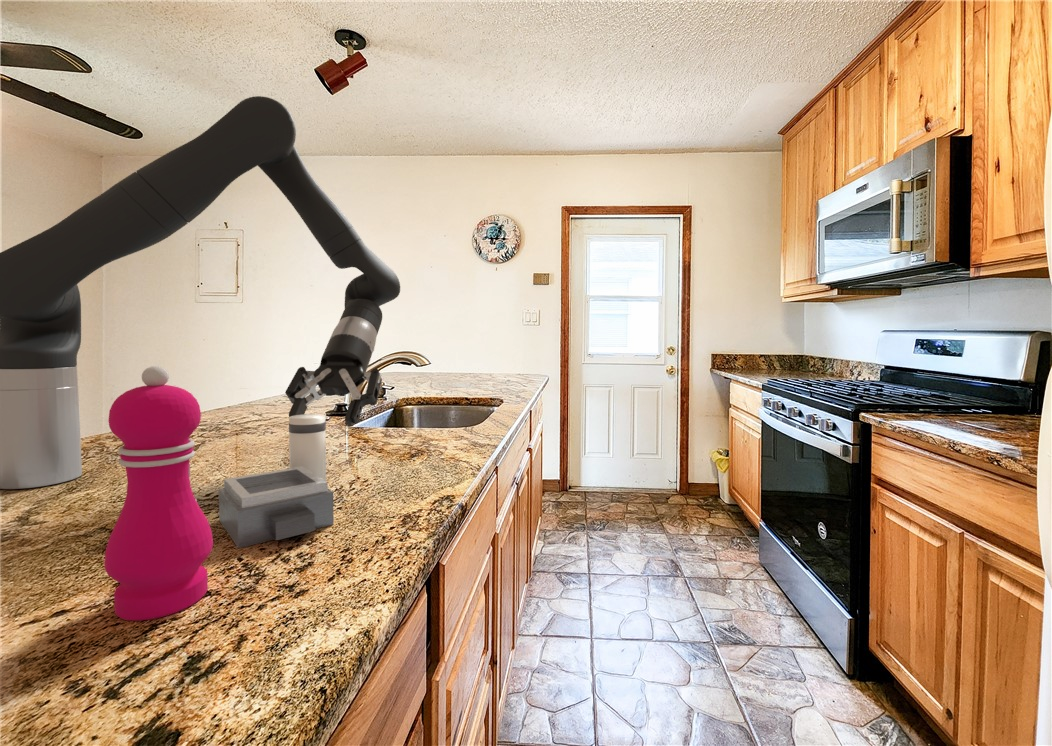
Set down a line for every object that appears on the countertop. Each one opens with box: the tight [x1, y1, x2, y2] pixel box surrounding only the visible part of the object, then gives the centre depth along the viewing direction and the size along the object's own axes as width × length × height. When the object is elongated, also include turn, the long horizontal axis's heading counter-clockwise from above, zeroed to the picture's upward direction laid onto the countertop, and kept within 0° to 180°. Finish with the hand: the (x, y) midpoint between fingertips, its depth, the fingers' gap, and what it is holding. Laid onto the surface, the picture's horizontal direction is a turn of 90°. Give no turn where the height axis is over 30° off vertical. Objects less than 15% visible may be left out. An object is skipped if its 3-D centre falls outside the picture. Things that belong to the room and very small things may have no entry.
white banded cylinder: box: [288, 413, 327, 482], centre depth 69 cm, size 5×5×11 cm
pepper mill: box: [104, 365, 214, 622], centre depth 39 cm, size 7×7×20 cm
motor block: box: [218, 467, 335, 549], centre depth 56 cm, size 12×10×5 cm
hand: (321, 422), depth 73 cm, fingers open, 8 cm apart
